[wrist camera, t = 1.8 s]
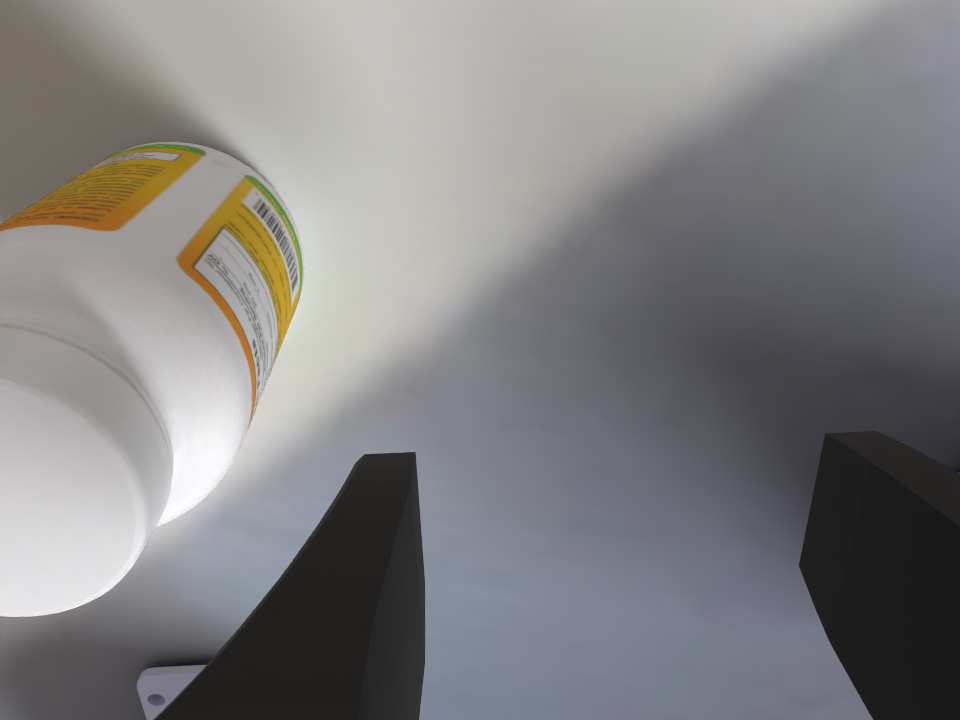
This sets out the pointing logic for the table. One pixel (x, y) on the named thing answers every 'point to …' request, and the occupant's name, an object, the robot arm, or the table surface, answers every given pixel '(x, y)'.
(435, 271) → the table surface
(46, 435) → the supplement bottle
